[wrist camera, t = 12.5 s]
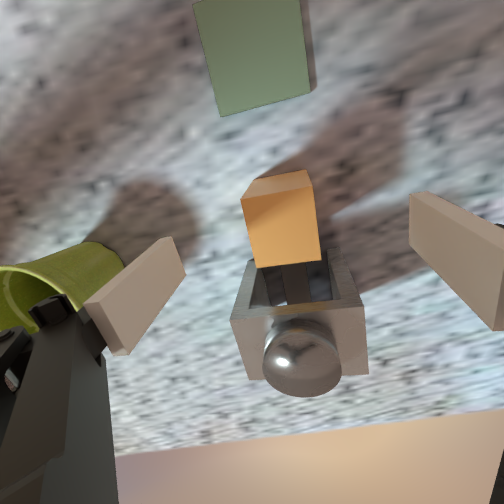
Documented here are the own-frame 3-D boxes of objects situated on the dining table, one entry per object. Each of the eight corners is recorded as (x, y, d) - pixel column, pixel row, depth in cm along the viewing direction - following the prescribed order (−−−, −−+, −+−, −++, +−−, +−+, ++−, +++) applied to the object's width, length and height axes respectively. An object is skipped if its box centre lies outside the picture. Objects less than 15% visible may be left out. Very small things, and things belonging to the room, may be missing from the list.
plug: (285, 330, 30) (283, 385, 23) (253, 179, 23) (240, 199, 17) (326, 327, 29) (336, 383, 22) (306, 169, 22) (312, 186, 16)
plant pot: (153, 296, 30) (106, 355, 22) (85, 305, 32) (19, 362, 24) (118, 219, 26) (46, 258, 19) (43, 235, 28) (-50, 276, 21)
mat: (221, 117, 21) (220, 116, 21) (194, 7, 18) (192, 4, 18) (310, 92, 20) (310, 91, 19) (294, -31, 17) (295, -35, 16)
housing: (260, 309, 29) (245, 404, 19) (247, 261, 26) (222, 341, 17) (345, 299, 27) (377, 400, 17) (339, 247, 24) (373, 328, 15)
